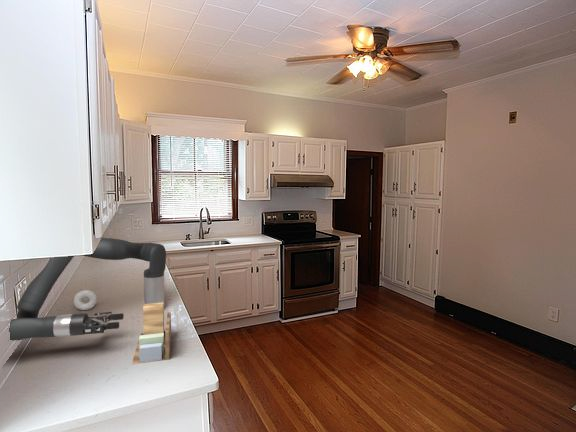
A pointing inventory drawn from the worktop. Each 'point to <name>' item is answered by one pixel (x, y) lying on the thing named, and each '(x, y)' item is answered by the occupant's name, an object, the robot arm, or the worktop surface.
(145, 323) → the light brown wooden block
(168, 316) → the rack
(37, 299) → the robot arm
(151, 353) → the offcut
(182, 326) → the worktop surface
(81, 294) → the donut
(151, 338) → the offcut
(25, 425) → the worktop surface
